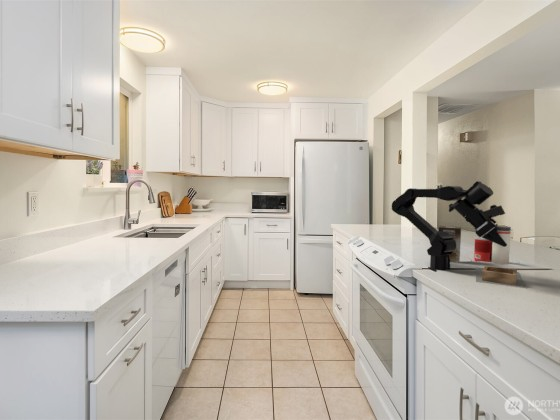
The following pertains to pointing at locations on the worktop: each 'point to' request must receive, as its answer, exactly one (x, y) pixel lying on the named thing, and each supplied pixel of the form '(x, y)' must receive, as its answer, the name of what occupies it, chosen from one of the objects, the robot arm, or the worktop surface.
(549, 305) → the worktop surface
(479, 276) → the rubber mat
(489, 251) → the canned food
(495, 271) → the wooden tray
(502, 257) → the white lens
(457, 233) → the coffee box
